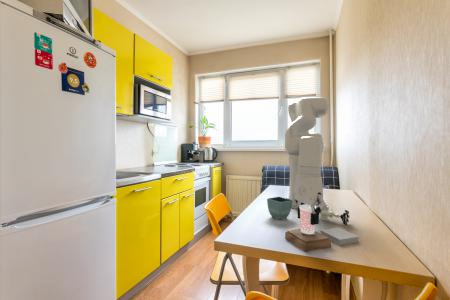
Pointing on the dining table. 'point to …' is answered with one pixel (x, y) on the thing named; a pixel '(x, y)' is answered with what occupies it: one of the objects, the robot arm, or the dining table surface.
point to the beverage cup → (306, 219)
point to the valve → (326, 213)
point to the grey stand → (340, 236)
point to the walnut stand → (308, 240)
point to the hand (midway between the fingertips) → (307, 220)
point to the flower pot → (279, 207)
